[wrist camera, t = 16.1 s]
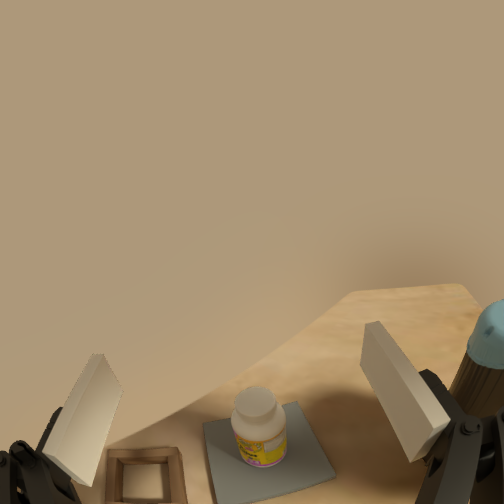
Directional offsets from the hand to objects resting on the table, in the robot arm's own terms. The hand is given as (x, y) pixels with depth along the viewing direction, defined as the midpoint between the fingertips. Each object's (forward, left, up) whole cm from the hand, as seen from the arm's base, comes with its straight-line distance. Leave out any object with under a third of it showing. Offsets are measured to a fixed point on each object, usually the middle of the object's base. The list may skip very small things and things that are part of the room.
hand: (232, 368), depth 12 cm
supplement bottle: (-2, -11, -29) cm, 31 cm away
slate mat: (-2, -11, -29) cm, 31 cm away
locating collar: (+16, -8, -29) cm, 34 cm away
